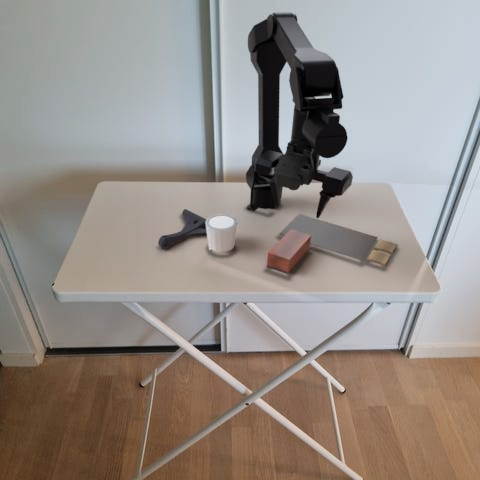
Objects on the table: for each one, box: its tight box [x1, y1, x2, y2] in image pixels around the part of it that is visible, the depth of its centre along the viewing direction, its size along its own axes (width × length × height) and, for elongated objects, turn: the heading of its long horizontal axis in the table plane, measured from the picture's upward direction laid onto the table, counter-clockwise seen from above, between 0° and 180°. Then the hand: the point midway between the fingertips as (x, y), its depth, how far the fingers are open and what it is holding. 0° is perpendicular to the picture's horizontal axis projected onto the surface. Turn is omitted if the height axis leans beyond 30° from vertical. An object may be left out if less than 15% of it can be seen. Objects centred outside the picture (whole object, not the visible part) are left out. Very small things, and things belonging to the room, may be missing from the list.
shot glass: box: [205, 213, 238, 253], centre depth 101 cm, size 7×7×7 cm
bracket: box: [157, 208, 207, 250], centre depth 106 cm, size 14×15×3 cm
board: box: [279, 213, 378, 261], centre depth 107 cm, size 20×11×1 cm, turn 60°
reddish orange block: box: [266, 229, 311, 275], centre depth 99 cm, size 5×11×5 cm, turn 150°
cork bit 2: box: [366, 249, 391, 266], centre depth 101 cm, size 4×4×2 cm
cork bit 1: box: [374, 238, 398, 255], centre depth 104 cm, size 4×4×2 cm
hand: (297, 211), depth 95 cm, fingers open, 9 cm apart
